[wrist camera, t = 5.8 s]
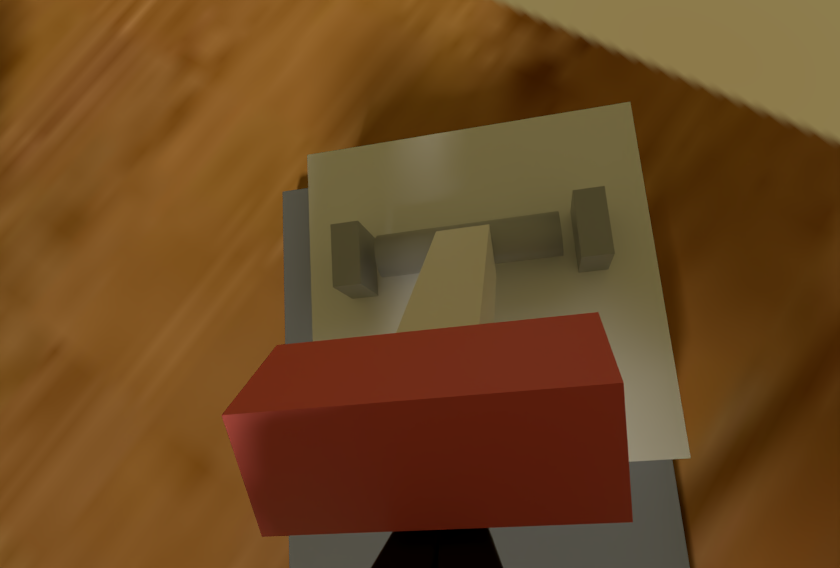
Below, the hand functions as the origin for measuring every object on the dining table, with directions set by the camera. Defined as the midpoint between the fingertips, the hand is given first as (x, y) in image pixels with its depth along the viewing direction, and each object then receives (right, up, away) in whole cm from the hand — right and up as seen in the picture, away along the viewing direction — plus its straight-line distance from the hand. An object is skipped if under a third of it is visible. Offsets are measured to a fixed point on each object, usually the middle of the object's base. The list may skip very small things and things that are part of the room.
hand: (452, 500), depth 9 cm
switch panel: (+1, 0, +11) cm, 11 cm away
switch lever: (+1, +4, +7) cm, 8 cm away
